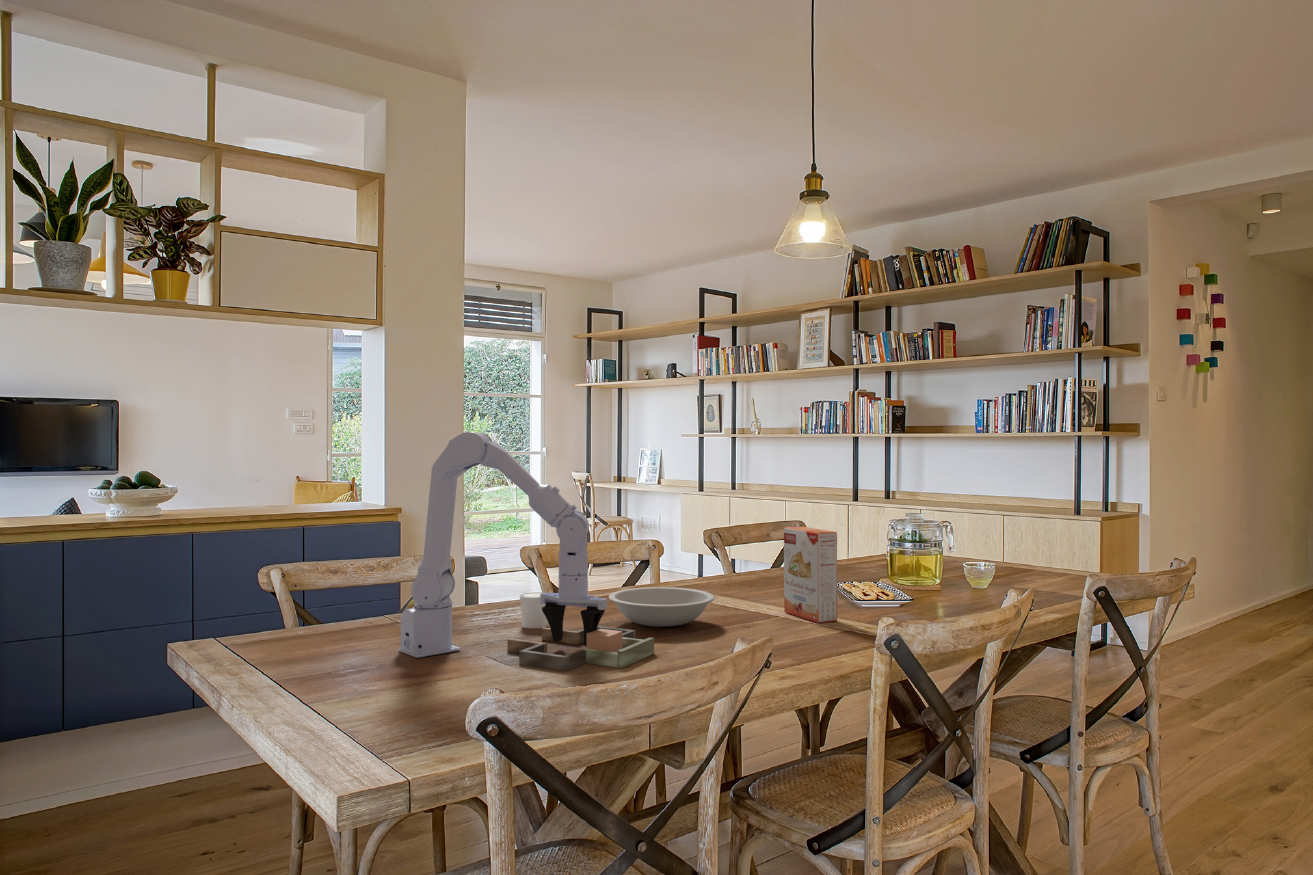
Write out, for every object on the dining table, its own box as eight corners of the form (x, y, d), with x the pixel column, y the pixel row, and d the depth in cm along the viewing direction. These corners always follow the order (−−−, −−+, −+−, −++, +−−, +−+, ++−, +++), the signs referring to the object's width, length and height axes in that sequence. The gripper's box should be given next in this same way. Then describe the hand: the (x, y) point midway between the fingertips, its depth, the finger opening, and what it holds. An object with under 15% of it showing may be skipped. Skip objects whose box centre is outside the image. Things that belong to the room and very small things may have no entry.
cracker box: (782, 612, 205) (782, 526, 205) (803, 610, 207) (803, 525, 207) (816, 623, 192) (816, 531, 192) (838, 621, 195) (838, 530, 195)
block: (586, 657, 161) (586, 633, 161) (600, 651, 166) (600, 628, 166) (608, 660, 159) (608, 636, 159) (622, 654, 163) (622, 631, 163)
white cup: (553, 622, 192) (553, 592, 192) (546, 629, 186) (546, 597, 186) (524, 622, 193) (524, 591, 193) (516, 628, 186) (516, 597, 186)
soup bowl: (717, 637, 178) (717, 606, 179) (604, 636, 179) (604, 605, 179) (712, 614, 202) (712, 587, 203) (612, 614, 203) (612, 586, 203)
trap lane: (486, 658, 160) (486, 642, 160) (562, 632, 182) (562, 618, 182) (603, 676, 148) (603, 659, 148) (669, 646, 170) (669, 631, 170)
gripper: (615, 573, 166) (615, 642, 166) (554, 568, 173) (554, 635, 173) (596, 578, 160) (596, 650, 160) (533, 573, 166) (533, 642, 166)
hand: (573, 643), depth 166 cm, fingers open, 7 cm apart
